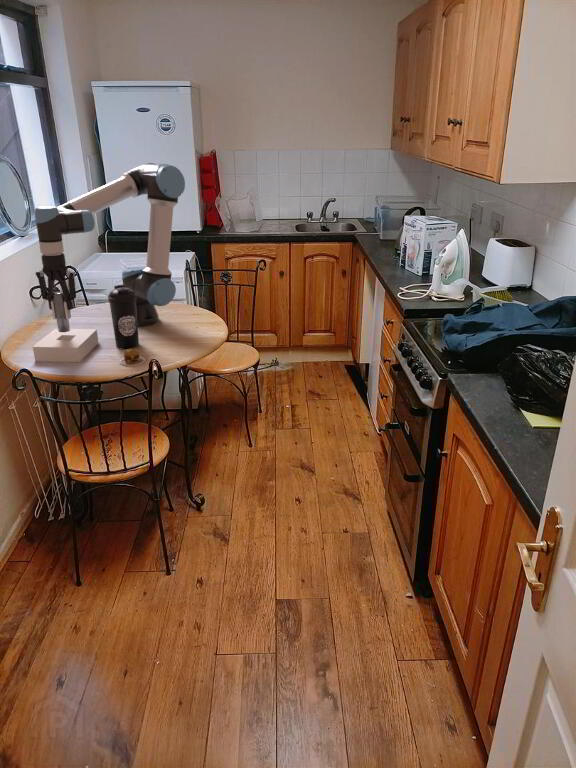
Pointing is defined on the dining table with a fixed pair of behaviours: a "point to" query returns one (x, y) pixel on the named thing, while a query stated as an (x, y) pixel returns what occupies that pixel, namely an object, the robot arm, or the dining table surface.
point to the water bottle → (124, 317)
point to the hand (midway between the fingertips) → (62, 318)
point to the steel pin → (60, 312)
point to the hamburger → (131, 357)
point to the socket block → (66, 345)
